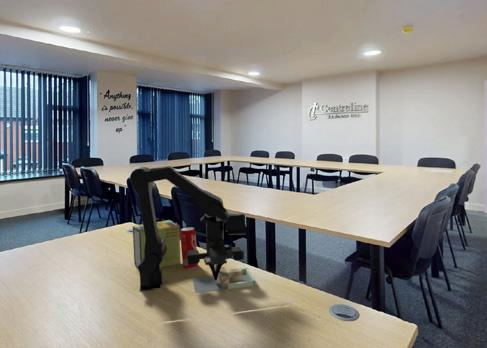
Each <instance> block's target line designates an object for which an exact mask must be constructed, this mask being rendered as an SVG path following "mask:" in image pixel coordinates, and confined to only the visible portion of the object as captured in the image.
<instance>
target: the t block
mask: <svg viewBox="0 0 487 348" xmlns="http://www.w3.org/2000/svg"><path fill="white" fill-rule="evenodd" d="M240 268H241V267H239V268H233V269H232V268H231V269H226V267H225V266H222V267H221V269H220V272H219V275H218V278H219V281H220V283H221V286H222V287H227V286H228V283H229V282H237V281H242V270H241V269H240Z"/></svg>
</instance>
